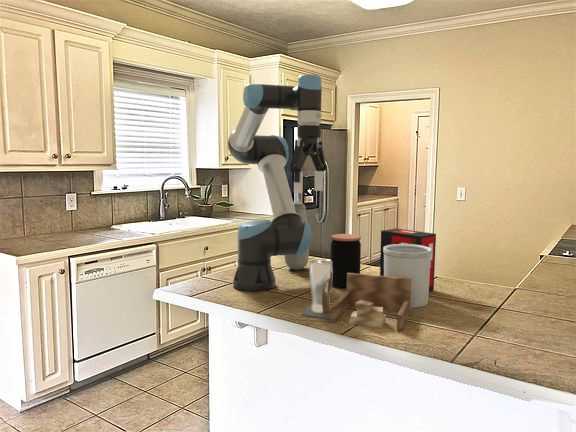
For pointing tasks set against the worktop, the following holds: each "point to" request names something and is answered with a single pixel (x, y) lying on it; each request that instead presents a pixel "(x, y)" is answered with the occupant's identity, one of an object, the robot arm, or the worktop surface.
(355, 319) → the offcut stack
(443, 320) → the worktop surface
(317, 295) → the beer glass
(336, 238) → the coffee jar
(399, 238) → the cleaning product box
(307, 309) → the coaster
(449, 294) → the worktop surface
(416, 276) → the utensil holder
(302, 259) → the glass bottle
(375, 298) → the open wooden frame
